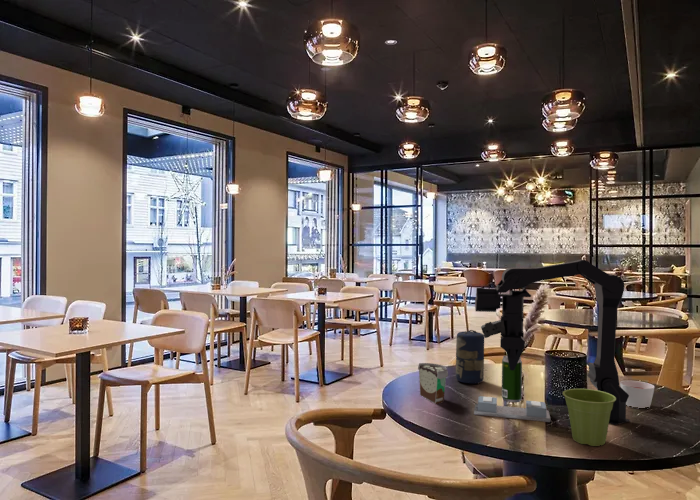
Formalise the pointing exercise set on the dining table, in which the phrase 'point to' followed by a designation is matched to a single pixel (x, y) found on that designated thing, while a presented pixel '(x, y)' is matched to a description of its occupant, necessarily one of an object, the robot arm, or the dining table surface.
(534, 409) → the module
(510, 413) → the rail
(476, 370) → the canister
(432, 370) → the food container
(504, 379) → the beer can
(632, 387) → the white tapered cup
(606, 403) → the plant pot
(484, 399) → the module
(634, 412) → the dining table surface
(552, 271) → the robot arm
